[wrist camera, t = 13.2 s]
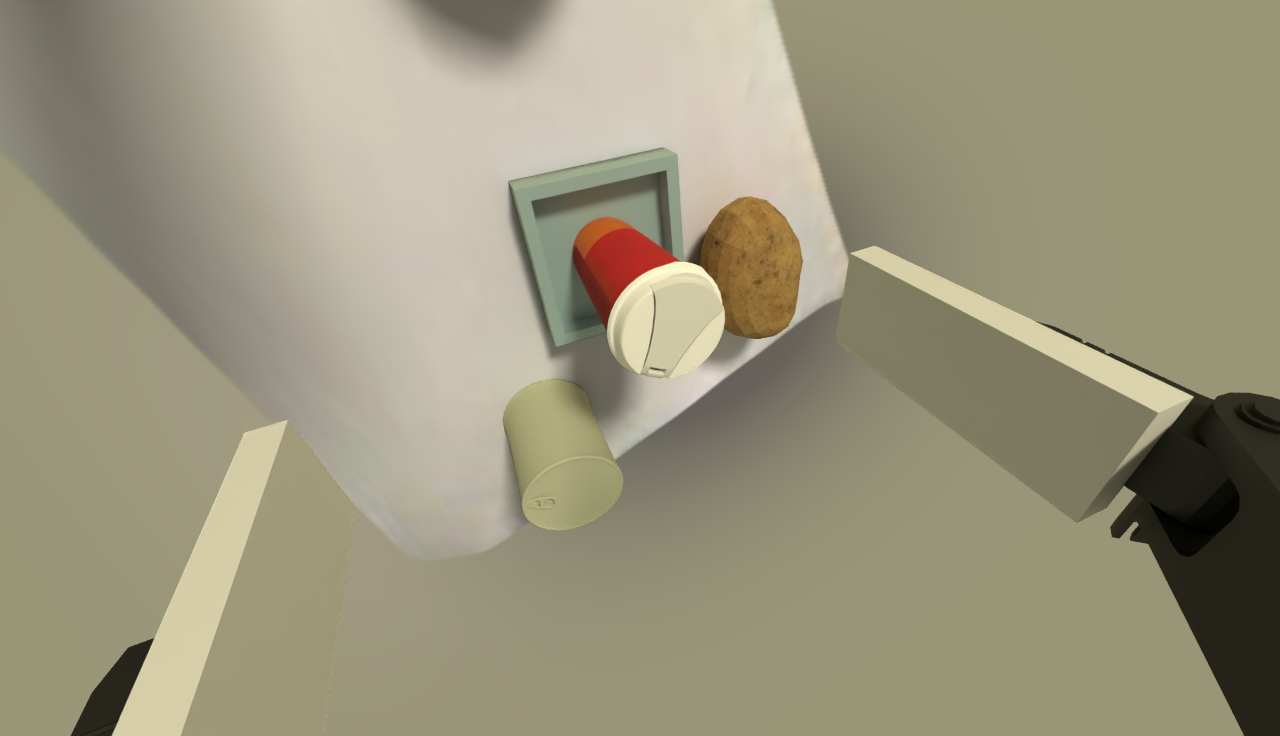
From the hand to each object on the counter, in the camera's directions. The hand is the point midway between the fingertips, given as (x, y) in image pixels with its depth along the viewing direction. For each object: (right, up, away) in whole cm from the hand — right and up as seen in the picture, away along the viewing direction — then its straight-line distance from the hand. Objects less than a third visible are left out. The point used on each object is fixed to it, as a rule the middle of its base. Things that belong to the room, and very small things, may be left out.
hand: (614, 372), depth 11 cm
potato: (+9, +12, +36) cm, 39 cm away
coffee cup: (-3, +11, +31) cm, 33 cm away
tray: (-3, +11, +31) cm, 33 cm away
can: (-9, -5, +40) cm, 41 cm away
